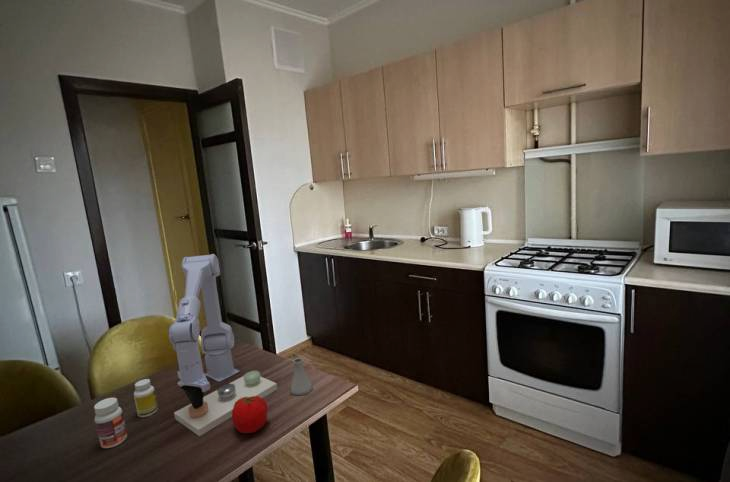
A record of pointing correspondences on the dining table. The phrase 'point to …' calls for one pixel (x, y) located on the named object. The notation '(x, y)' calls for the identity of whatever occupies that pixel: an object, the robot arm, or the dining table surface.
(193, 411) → the terracotta button
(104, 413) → the pill bottle
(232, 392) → the grey button
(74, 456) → the dining table surface
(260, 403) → the tomato
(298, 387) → the flask
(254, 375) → the sage button
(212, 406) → the control panel
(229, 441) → the dining table surface
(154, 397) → the supplement bottle
